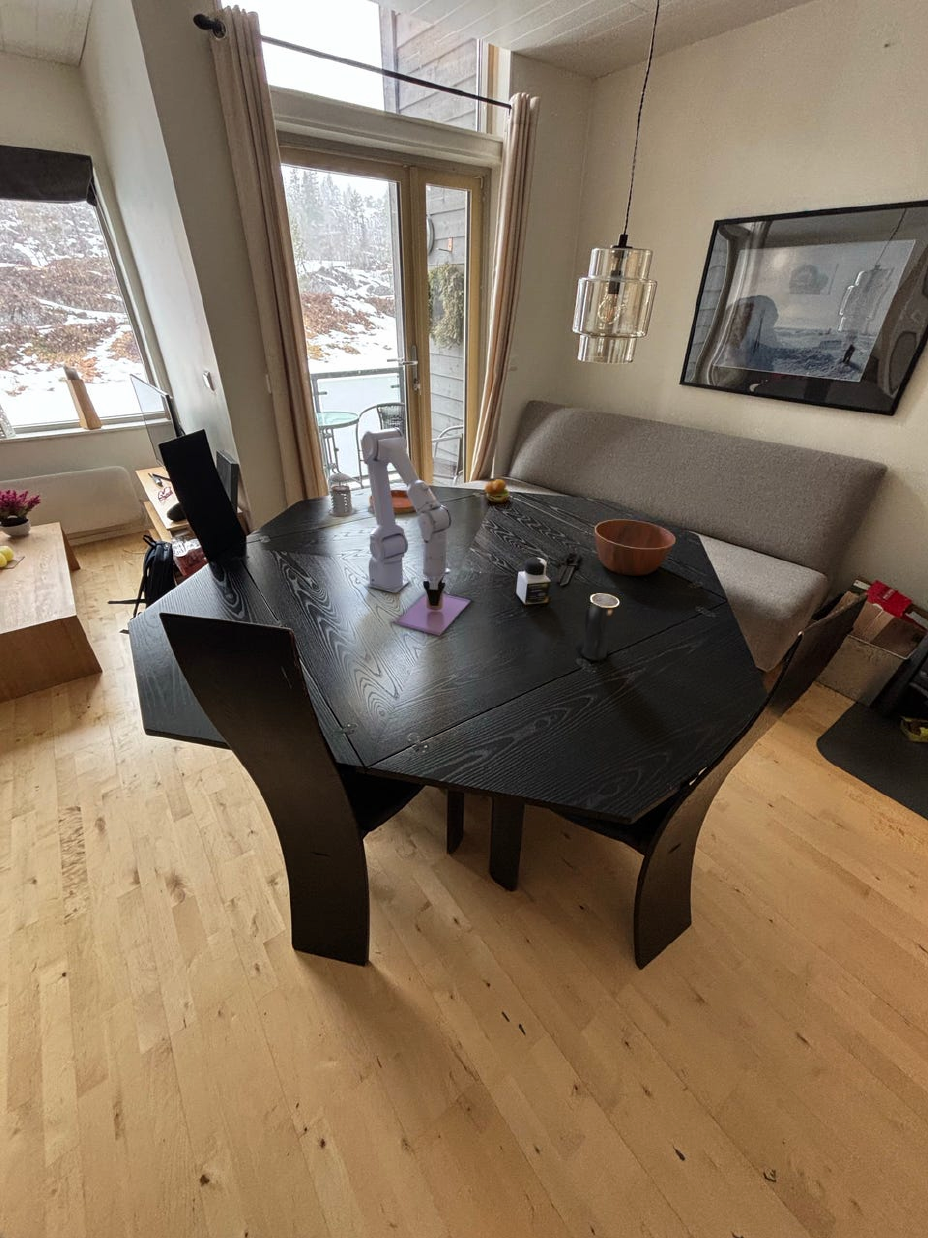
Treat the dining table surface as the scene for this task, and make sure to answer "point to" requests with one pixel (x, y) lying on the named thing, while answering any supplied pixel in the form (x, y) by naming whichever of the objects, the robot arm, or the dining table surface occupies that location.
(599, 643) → the beer glass
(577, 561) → the knife
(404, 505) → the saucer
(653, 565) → the bowl
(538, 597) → the medicine bottle
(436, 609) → the salt mill
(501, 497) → the cheeseburger
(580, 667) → the dining table surface
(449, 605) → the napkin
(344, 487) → the french press
